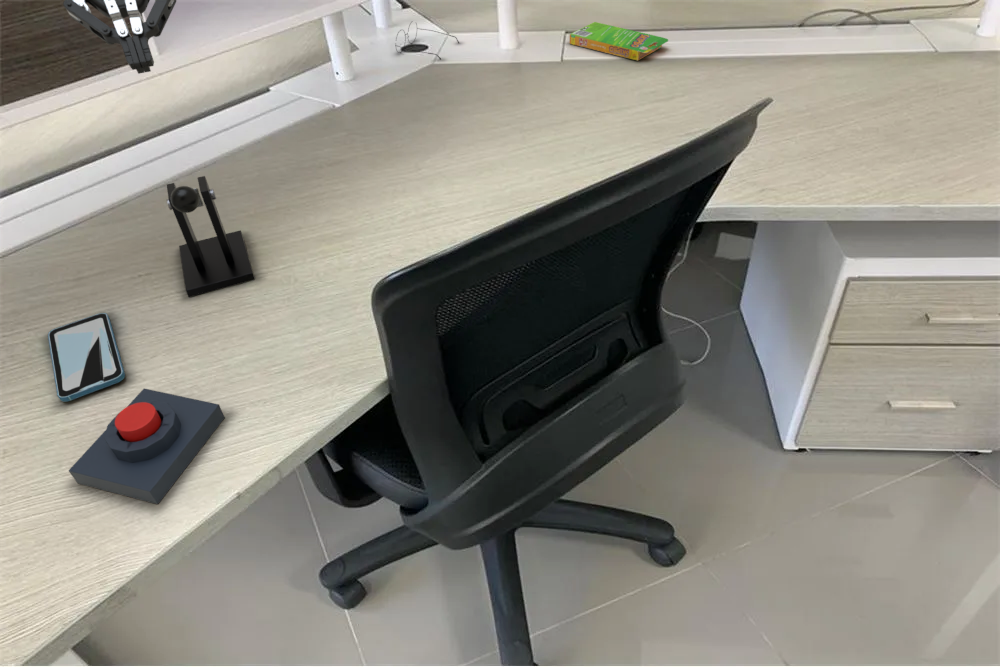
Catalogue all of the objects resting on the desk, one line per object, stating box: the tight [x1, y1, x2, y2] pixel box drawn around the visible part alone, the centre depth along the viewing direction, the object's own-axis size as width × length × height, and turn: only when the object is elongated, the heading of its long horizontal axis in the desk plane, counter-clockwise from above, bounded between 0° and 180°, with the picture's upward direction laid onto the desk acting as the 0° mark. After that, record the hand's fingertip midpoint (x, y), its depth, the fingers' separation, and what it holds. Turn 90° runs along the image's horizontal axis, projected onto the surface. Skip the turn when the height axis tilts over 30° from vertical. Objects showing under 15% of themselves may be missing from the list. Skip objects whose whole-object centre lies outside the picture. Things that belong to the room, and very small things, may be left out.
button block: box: [68, 388, 225, 505], centre depth 75 cm, size 12×10×4 cm
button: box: [115, 402, 161, 442], centre depth 73 cm, size 4×4×2 cm
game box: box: [569, 21, 669, 62], centre depth 157 cm, size 3×10×20 cm
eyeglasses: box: [394, 22, 460, 61], centre depth 161 cm, size 11×13×5 cm
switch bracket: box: [166, 175, 256, 298], centre depth 97 cm, size 12×9×13 cm
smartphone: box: [47, 312, 126, 403], centre depth 87 cm, size 7×1×15 cm
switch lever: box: [170, 185, 204, 214], centre depth 89 cm, size 13×3×3 cm, turn 24°
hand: (143, 69), depth 85 cm, fingers closed
